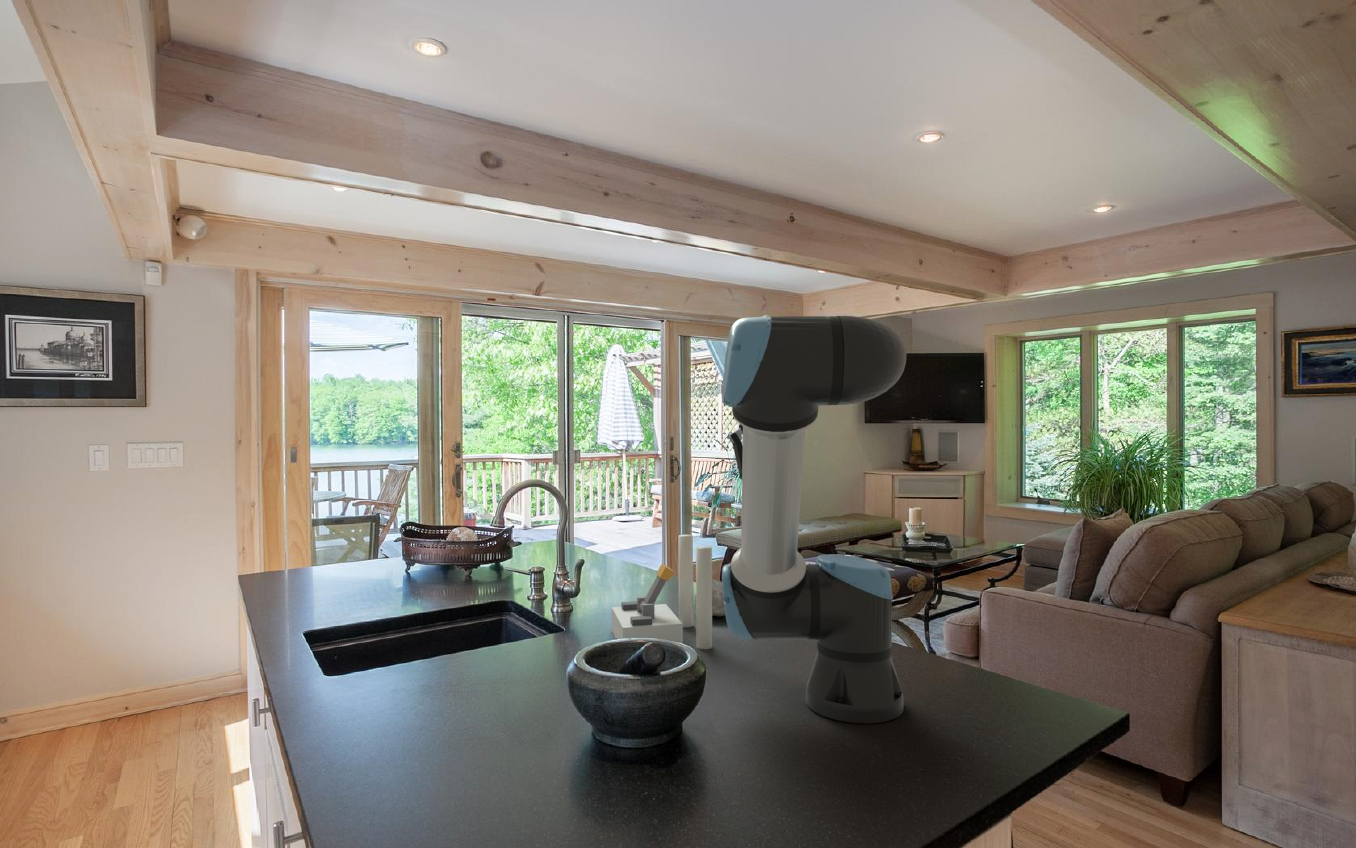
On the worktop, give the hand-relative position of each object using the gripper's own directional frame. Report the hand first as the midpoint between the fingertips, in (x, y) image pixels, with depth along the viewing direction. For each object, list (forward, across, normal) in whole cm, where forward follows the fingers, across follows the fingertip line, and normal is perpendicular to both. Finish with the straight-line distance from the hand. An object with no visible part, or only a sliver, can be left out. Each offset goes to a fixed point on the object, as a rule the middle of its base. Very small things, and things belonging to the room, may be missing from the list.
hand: (760, 516), depth 143 cm
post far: (+26, +10, -20) cm, 35 cm away
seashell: (+27, +1, -27) cm, 38 cm away
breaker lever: (+21, +22, -12) cm, 32 cm away
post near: (+26, +10, -4) cm, 29 cm away
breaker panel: (+26, +21, -12) cm, 36 cm away
